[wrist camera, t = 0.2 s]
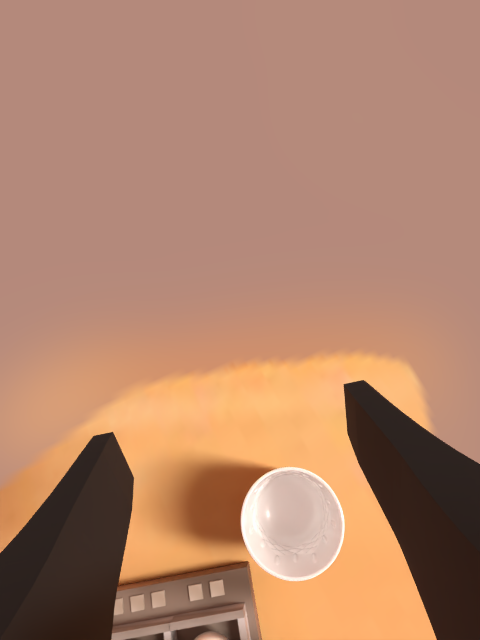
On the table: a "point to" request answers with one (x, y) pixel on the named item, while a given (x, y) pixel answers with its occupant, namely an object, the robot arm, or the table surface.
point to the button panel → (188, 606)
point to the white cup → (292, 524)
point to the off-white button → (211, 636)
